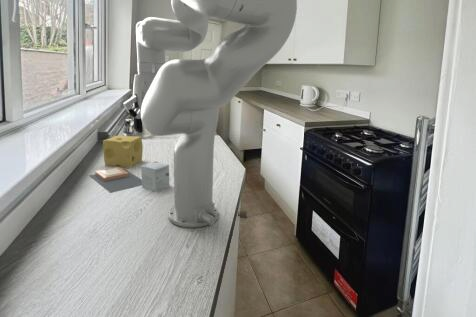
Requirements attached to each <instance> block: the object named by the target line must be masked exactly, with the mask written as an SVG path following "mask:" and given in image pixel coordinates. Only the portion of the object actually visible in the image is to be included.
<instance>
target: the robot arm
mask: <svg viewBox="0 0 476 317" xmlns="http://www.w3.org/2000/svg"><path fill="white" fill-rule="evenodd" d="M170 2H171V3H170V4H171V8H172V12H173V13H174V15H175V17H176V19H177V20H176V19H170V18H162V17H156V16H153V17H152V16H150V17H146V18H144V19H143V20H141V21H140V20H139V21H138V22H137V23H136V24H135V36H136V37H135V38H136V39H135V40H136V55H137V59H136V60H137V74H136V73H135V74H134V78H133V86H132V87H133V88H132V97H130V98H129V99H127V100H126V101H124V102H123V107H124V108H125V110H126V111H127V113H128V114H129V115H130V116H131V117H132V118H133V129H134V130H135V132H136V133H143V127H144V129H145V130H146V131H147V132H148V133H149V134H151V135H154V136H160V137H161V136H171V135H172V136H173V135H179V137H178V138H177V140H176V143H175V145H174V149H173V182H174V183H173V185H174V186H173V188H174V191H173V193H174V199H173V200H174V206H172V207H171V208H170V209H169V210H168V214H167V215H168V220H169V221H170V222H171V223H172V224H174V225H176V226H179V227H182V228H192V229H193V228H201V227H206V226H209V225H210V226H212V225H215V222H216V221H217V220H218V219H219V218H220V213H219V211H218V208H216V206H215V203H214V202H213V190H214V186H213V184H214V157H215V156H214V153H215V152H214V149H215V137H216V131H217V126H218V122H219V116H220V108H222V107H225V106H226V105H227V104H228V103H230V102H231V101H232V99H233V98H235V96H236V95H238V93H239V92H240V91H241V90H242V88H244V87H245V86H246V85H247V84H248V83H249V81H251V79H252V78H253V77H254V76H255V75H256V74H257V73H258V72H259V71H260V70H261V69H262V68H263V67H264V66H265V65H266V64H267V63H268V62H270V61H271V60H272V59H273V58H274V57H275V56H276V55H277V54H278V52H280V51H281V49H282V48H283V47H284V45H285V44H286V43H287V41H288V39H289V37H290V35H291V33H292V31H293V28H294V25H295V22H296V17H297V10H298V9H297V7H298V5H297V4H298V3H297V2H298V1H297V0H170ZM209 19H212V20H218V21H224V22H230V23H237V24H242V25H243V26H241V27H240V28H238V29H236V30H235V31H233V32H231V33H230V34H228V35H227V36H225V37H224V38H223V39H222V40H220V42H219V43H218V44H217V45H216V47H215V48H214V50H213V51H212V53H211V54H210V55H209V56H207V57H206V58H203V59H188V58H186V59H184V58H176V59H175V58H174V59H171V60H169V61H166V51H171V52H182V53H183V52H191V51H193V50H194V49H196V48H197V47H199V45H201V44H202V43H203V42H204V41H205V39H206V37H207V35H208V34H207V33H208V30H209ZM132 106H133V108H134V109H133V108H132Z"/></svg>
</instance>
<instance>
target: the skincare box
mask: <svg viewBox="0 0 476 317" xmlns="http://www.w3.org/2000/svg"><path fill="white" fill-rule="evenodd" d="M140 168H141V179H142V185H141V188H145V189H146V190H147V189H148V190H150V191H151V190H152V191H154V192H157V191H160V190H161V189H164V188H166V187H169V186H170V165H169V164H167V163H164V162H159V161H153V162H148V163H146V164H142V165H141V166H140Z"/></svg>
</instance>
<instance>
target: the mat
mask: <svg viewBox="0 0 476 317" xmlns="http://www.w3.org/2000/svg"><path fill="white" fill-rule="evenodd" d="M122 169H123V170H125V171H126V172H128V173H129V176H128V177H123V178H118V179H114V180H109V181H103V180H102V179H101V178H99V177H98V176H97V175H95V174H90V175H88V176H89V178H92V179H93V180H94V181H95V182H96V183H97V184H98V185H100V186H101V187H103V189H104V190H106V191H107V192H109V193H110V194H112V193H117V192H120V191H123V190H128V189H132V188H137V187H142V178H140V177H138V176H136V175H135V174H134V173H132V172H130V171H128V170H127V169H126V168H122Z"/></svg>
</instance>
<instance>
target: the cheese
mask: <svg viewBox="0 0 476 317" xmlns="http://www.w3.org/2000/svg"><path fill="white" fill-rule="evenodd" d="M143 147H144V146H143V138H142V136H131V135H119V134H118V135H115V136H112V137H110V138H107V139H104V140H102V150H103V159H104V160H103V161H104V165H105V166H111V167H112V166H113V167H120V168H124V169H126V168H127V169H130V168H131V167H133V166H135V165H136V164H138V163H140V162H142V160H143V151H144V150H143V149H144V148H143Z"/></svg>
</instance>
